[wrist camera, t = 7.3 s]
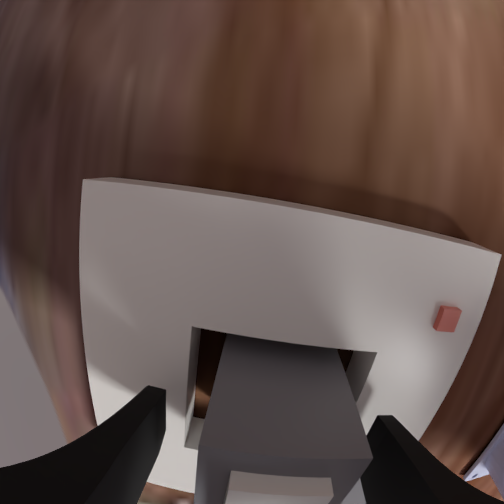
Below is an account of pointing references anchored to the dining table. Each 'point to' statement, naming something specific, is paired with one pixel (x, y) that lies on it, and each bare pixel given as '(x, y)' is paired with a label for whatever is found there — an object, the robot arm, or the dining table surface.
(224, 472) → the plug
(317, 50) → the dining table surface
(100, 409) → the socket plate
